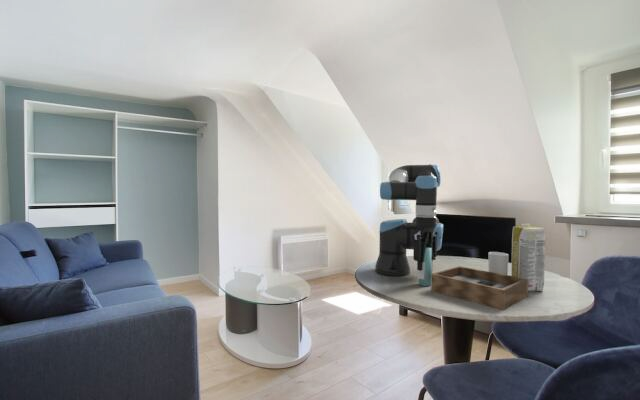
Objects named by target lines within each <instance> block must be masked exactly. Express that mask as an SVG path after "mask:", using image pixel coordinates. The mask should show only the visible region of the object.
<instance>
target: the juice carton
mask: <svg viewBox="0 0 640 400" xmlns="http://www.w3.org/2000/svg"><path fill="white" fill-rule="evenodd" d="M545 230H546V229H545V228H544V227H539V226H531V224H530V223H521V226H513V227H512V235H511V236H512V237H511V268H510V269H511V271H510V273H511V275H510V276H514V277H519V278H524V279H528V292H543V291H544V286H545V270H546V269H545V266H546V265H545V261H546V231H545Z"/></svg>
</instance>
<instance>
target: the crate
mask: <svg viewBox="0 0 640 400" xmlns="http://www.w3.org/2000/svg"><path fill="white" fill-rule="evenodd" d="M430 289H431V292H435V293H439V294H441V295H442V294H443V295H447V296H451V297H454V298H459V299H461V300H465V301H468V302H473V303H477V304H480V305H484V306H487V307H490V308H495V309H498V310H502V311H504V310H506V309H508V308H510V307H512V306H513V304H514V305H515V304H517V303H520V302H521V301H523V300H524V299H526V298H528V295H529V293H528V292H529V291H528V279H524V278H519V277H514V276H511V275H509V274H508V275H503V274H498V273H493V272H488V271H486V270H482V269H476V268H471V267H465V266H462V265H461V266H460V265H459V266H455V267H452V268H451V267H450V268H448V269H444V270H441V271H437V272H432V277H431V286H430Z"/></svg>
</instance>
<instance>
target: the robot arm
mask: <svg viewBox="0 0 640 400" xmlns="http://www.w3.org/2000/svg"><path fill="white" fill-rule="evenodd" d="M440 186H441V171H440V167H439V166H438V165H437V164H431V163H430V164H409V165H408V164H407V165H406V164H405V165H402V166H399V167H396V168H394V169H393V170H392V171H391V172H390V174H389V176H388V181H384V182H381V183H380V185H379V197H380V199H381V200H387V201H415V213H414V214H415V217H414V218H413V220H412V222H408V220H407V218H397V219H388V220H383V221H381V222H380V223H379V232H378V233H379V252H378V257H377V259H376V260H377V261H376V262H375V266H374V267H375V268H374V272H375V273H377V274H379V275H384V276H389V277H390V276H391V277H402V276H403V277H404V276H405V277H406V276H409V275H410V274H411V267H410V263H409V260H408V257H407V250H413V253H412V255H413V261H415V262H416V263H417V264H416V270H417V275H416V276H417V277H416V278H417V279H418V280H419V279H423V280H424V279H425V262H423V261H424V255H425V248H426V247H429V248H432V257H431V277H432V274H433V273H434V272H433V270H434V269H433V268H434V267H433V266H434V263H433V262H434V261H436V259H437V251H440V250H441V248H442V243H443V234H444V224H443V223H441V222H440V221H439V219H438V218H437V210H438V209H437V197H438V196H437V194H438V187H440Z"/></svg>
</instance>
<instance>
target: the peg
mask: <svg viewBox="0 0 640 400" xmlns="http://www.w3.org/2000/svg"><path fill="white" fill-rule="evenodd" d="M431 257H432V248H429V247H426V248H425V255H424V261H423V262H425V279H424V280H423V279H419V278H418V285H420V286H422V287H431Z"/></svg>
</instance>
